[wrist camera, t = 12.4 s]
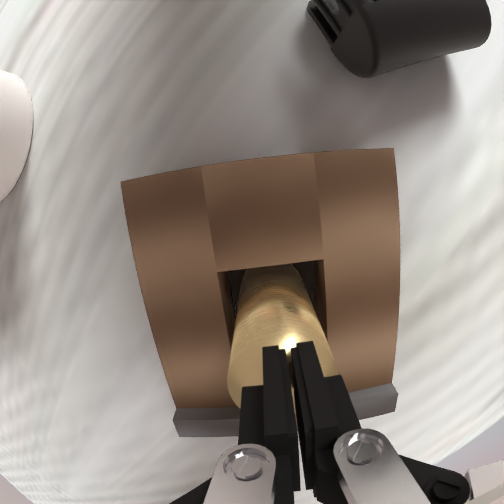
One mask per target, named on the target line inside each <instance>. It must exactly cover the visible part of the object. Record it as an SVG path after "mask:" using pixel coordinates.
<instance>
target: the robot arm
mask: <svg viewBox="0 0 504 504" xmlns="http://www.w3.org/2000/svg"><path fill="white" fill-rule="evenodd" d="M262 358H263V385H256V386H244V387H242V393H241V408H240V423H239V437H238V446H234V447H232V448H230V449H228V450H227V451H225V452H224V453H223V454H222V455H221V457H220V458H219V460H218V462H217V465H216V468H215V471H214V474H213V477H212V478H210V479H209V480H207V481H206V482H204V483H203V484H201V485H199V486H198V487H196V488H195V489H193V490H191V491H190V492H188V493H187V494H185V495H183V496H182V497H180V498H178V499H176V500H175V501H173V502H171V503H170V504H294V492H293V491H300V469H299V449H298V434H299V441H300V448H301V455H302V463H303V470H304V478H305V485H306V490H309V489H313V493H314V497H317V501H319V502H321V503H323V504H504V460H501V461H498V462H495V463H492V464H488V465H485V466H481V467H477V468H473V469H469V470H468V471H467V472H466V473H464V474H459V473H457V472H455V471H451V470H447V469H444V468H440V467H437V466H433V465H430V464H426V463H423V462H420V461H417V460H414V459H410V458H407V457H404V456H401V455H398V454H397V452H396V451H395V449H394V448H393V446H392V445H391V443H390V442H389V440H388V439H387V438H386V437H385V436H384V435H383V434H382V433H380V432H378V431H376V430H372V429H362V428H361V426H360V423H359V420H358V417H357V415H356V412H355V409H354V407H353V404H352V401H351V399H350V396H349V393H348V391H347V388H346V385H345V383H344V380H343V378H342V376H341V375H334V376H328V377H324V375H323V372H322V369H321V365H320V362H319V359H318V355H317V352H316V349H315V346H314V343H313V341H307V342H299V343H296V347H294V348H291V361H292V374H293V387H294V400H295V410H294V403H293V396H292V389H291V383H290V376H289V369H288V362H287V356H286V349H279V345H275V346H266V347H262ZM295 412H296V417H295ZM296 420H297V425H296ZM297 427H298V434H297Z"/></svg>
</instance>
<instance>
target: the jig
mask: <svg viewBox="0 0 504 504" xmlns="http://www.w3.org/2000/svg"><path fill="white" fill-rule="evenodd" d="M121 188H122V195H123V201H124V208H125V213H126V219H127V225H128V230H129V236H130V241H131V246H132V251H133V256H134V260H135V265H136V270H137V274H138V279H139V283H140V287H141V291H142V295H143V299H144V303H145V307H146V311H147V315H148V319H149V322H150V326H151V330H152V333H153V337H154V340H155V344H156V347H157V350H158V354H159V357H160V360H161V364H162V367H163V370H164V373H165V376H166V379H167V382H168V385H169V388H170V391H171V394H172V397H173V400H174V403H175V405H176V411H175V414H174V417H173V422H174V425H175V427H176V430H177V432H178V435H179V437H223V436H239V423H240V408H239V407H238V406H237V405H236V404H235V403H234V401H233V400H232V398H231V396H230V394H229V391H228V386H227V377H228V370H229V363H230V356H231V349H232V342H233V335H234V328H235V321H236V320H235V314H234V308H233V302H232V296H231V289H230V283H229V277H228V271H231V270H240V269H248V268H256V267H265V266H273V265H281V264H289V263H297V262H305V261H312V264H313V277H314V292H315V308H316V315H317V317H318V320H319V322H320V325H321V327H322V330H323V332H324V335H325V337H326V340H327V342H328V345H329V347H330V350H331V352H332V355H333V358H334V360H335V363H336V365H337V370H338V375H341V376H342V378H343V380H344V383H345V385H346V388H347V391H348V393H349V396H350V399H351V401H352V404H353V407H354V409H355V412H356V415H357V417H358V420H361V419H366V418H370V417H374V416H379V415H383V414H387V413H390V412H394V411H395V408H396V402H397V397H398V393H397V391H396V389H395V388H394V386H393V384H392V377H393V369H394V361H395V352H396V341H397V330H398V315H399V296H400V221H399V201H398V187H397V175H396V165H395V156H394V148H380V149H357V150H340V151H325V152H313V153H301V154H291V155H281V156H272V157H263V158H255V159H247V160H240V161H232V162H225V163H219V164H212V165H206V166H200V167H194V168H188V169H182V170H176V171H171V172H166V173H160V174H155V175H150V176H145V177H140V178H136V179H131V180H126V181H122V182H121ZM296 425H297V420H296ZM297 431H298V427H297Z"/></svg>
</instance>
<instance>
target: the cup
mask: <svg viewBox="0 0 504 504" xmlns="http://www.w3.org/2000/svg"><path fill="white" fill-rule="evenodd" d="M32 130H33V109H32V100H31V97H30V93H29V90H28V88H27V86H26V85H25V83H24V81H23V80H21V79H20V78H19V77H18V76H16V75H14V74H11V73H8V72H5V71H1V70H0V201H2V200H3V199H4V198H5V197H6V196H7V195H8V194H9V193H10V191H11V190H12V189H13V187H14V186H15V184H16V182H17V180H18V179H19V177H20V175H21V173H22V170H23V167H24V165H25V162H26V159H27V155H28V151H29V148H30V144H31V136H32Z"/></svg>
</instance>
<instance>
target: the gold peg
mask: <svg viewBox="0 0 504 504" xmlns="http://www.w3.org/2000/svg"><path fill="white" fill-rule="evenodd" d="M307 341H313V343H314V346H315V349H316V352H317V355H318V359H319V362H320V365H321V369H322V372H323V375H324V377H328V376H334V375H338V370H337V365H336V363H335V360H334V358H333V355H332V352H331V350H330V347H329V345H328V342H327V340H326V337H325V335H324V332H323V330H322V327H321V325H320V322H319V320H318V317H317V315H316V312H315V310H314V307H313V305H312V303H311V300H310V298H309V295H308V293H307V290H306V288H305V286H304V283H303V281H302V278H301V276H300V274H299V272H298V271H297V269H296V268H295V267H294V266H293V265H292V264H290V263H289V264H281V265H273V266H265V267H256V268H248V269H247V271H246V272H245V274H244V276H243V278H242V281H241V287H240V294H239V301H238V308H237V314H236V321H235V328H234V335H233V342H232V349H231V356H230V363H229V370H228V377H227V386H228V391H229V394H230V396H231V398H232V400H233V401H234V403H235V404H236V405H237V406H238V407H239V408H241V393H242V387H244V386H256V385H263V358H262V347H266V346H275V345H279V349H286V356H287V362H288V369H289V376H290V383H291V389H292V396H293V403H294V410H295V400H294V387H293V374H292V361H291V348H294V347H296V343H299V342H307ZM295 417H296V412H295Z"/></svg>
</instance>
